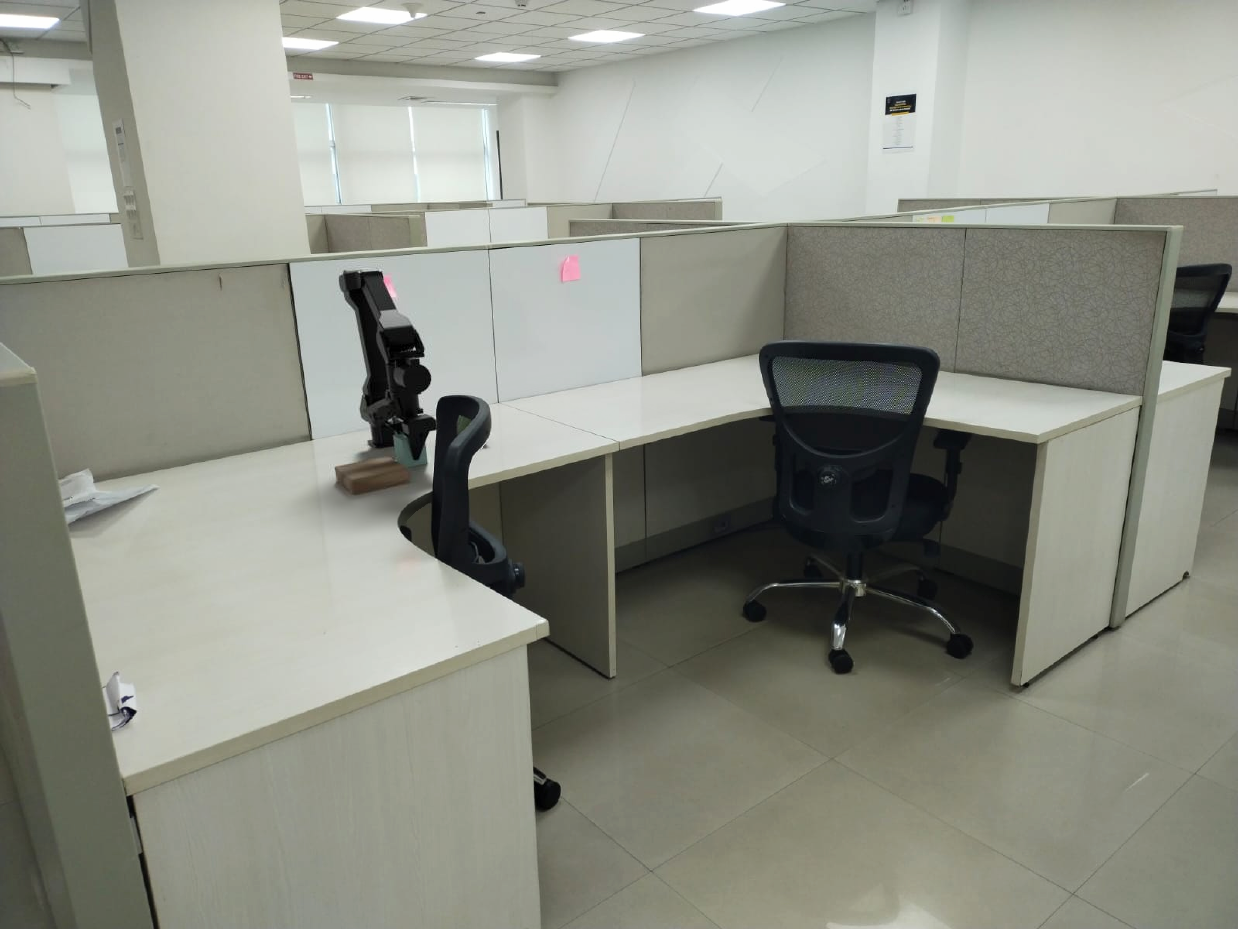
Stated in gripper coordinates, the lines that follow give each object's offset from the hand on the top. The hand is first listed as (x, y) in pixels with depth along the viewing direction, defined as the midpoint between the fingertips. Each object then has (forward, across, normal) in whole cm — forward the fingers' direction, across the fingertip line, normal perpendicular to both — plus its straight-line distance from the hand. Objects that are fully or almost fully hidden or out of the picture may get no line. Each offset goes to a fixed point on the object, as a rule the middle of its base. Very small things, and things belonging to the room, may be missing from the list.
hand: (411, 457), depth 186 cm
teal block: (+1, 0, 0) cm, 1 cm away
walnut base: (+1, +7, -11) cm, 13 cm away
